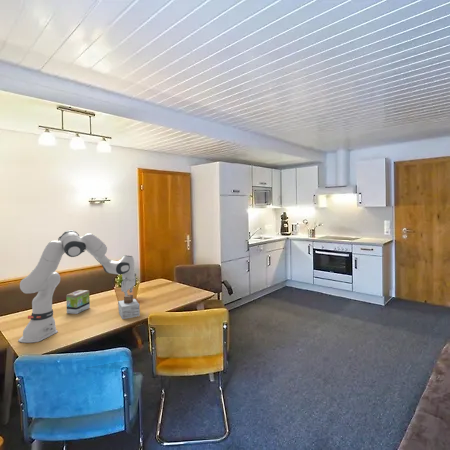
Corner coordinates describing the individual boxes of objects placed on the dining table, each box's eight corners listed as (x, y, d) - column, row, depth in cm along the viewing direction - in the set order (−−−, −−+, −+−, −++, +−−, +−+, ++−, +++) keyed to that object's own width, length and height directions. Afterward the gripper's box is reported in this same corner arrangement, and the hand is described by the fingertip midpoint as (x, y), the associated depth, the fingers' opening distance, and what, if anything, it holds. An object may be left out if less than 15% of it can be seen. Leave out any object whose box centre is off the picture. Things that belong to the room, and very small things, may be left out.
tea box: (77, 314, 229) (77, 295, 228) (66, 313, 231) (65, 294, 230) (90, 307, 244) (89, 289, 243) (79, 307, 246) (78, 289, 245)
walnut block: (130, 303, 225) (130, 296, 225) (124, 303, 225) (123, 296, 225) (133, 301, 230) (132, 294, 230) (126, 301, 230) (126, 294, 230)
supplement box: (140, 316, 223) (139, 304, 223) (121, 319, 217) (121, 307, 217) (135, 309, 238) (135, 298, 238) (118, 312, 232) (118, 300, 232)
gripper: (127, 279, 217) (127, 298, 218) (136, 273, 237) (137, 290, 238) (118, 279, 217) (119, 298, 218) (129, 273, 238) (129, 290, 238)
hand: (128, 294), depth 228 cm, fingers open, 8 cm apart
